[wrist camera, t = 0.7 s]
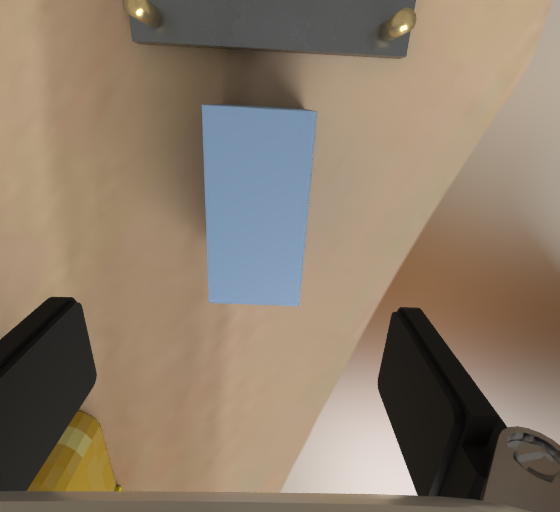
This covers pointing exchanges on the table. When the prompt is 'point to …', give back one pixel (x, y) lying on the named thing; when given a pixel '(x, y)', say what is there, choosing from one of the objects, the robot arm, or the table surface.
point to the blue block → (256, 201)
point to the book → (77, 460)
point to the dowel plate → (277, 25)
